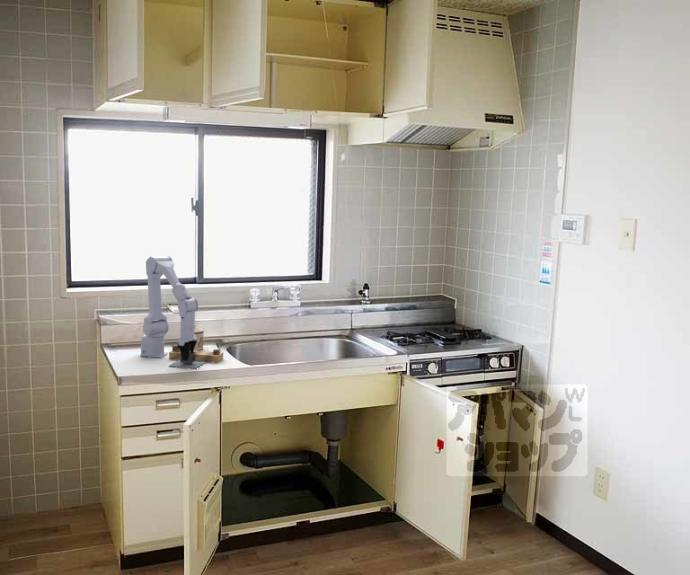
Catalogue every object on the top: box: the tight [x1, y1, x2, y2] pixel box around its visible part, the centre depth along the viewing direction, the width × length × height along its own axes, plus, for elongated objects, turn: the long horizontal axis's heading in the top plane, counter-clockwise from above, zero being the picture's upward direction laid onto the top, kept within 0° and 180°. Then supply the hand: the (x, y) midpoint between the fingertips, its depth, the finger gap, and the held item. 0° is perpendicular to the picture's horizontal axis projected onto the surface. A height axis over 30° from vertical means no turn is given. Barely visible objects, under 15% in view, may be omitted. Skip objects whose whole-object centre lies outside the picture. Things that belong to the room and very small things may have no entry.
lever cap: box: [180, 350, 196, 363], centre depth 301 cm, size 5×4×5 cm
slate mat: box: [168, 360, 206, 370], centre depth 302 cm, size 12×10×1 cm
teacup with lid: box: [194, 323, 205, 351], centre depth 331 cm, size 12×9×12 cm
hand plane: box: [168, 344, 224, 364], centre depth 312 cm, size 22×7×5 cm, turn 82°
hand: (187, 358), depth 301 cm, fingers closed on lever cap, 4 cm apart
